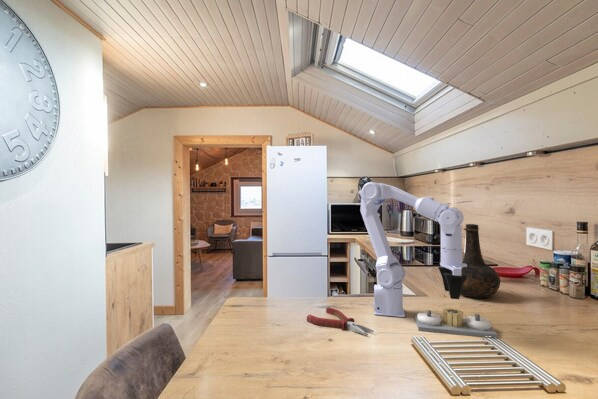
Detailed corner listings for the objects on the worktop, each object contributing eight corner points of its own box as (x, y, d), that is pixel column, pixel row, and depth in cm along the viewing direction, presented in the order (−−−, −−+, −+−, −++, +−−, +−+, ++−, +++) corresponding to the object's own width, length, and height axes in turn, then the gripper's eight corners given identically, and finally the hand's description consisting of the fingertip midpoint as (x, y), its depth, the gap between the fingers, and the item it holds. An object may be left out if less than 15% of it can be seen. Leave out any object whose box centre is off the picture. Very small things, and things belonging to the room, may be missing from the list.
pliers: (358, 344, 79) (358, 334, 79) (304, 322, 94) (304, 314, 94) (381, 331, 87) (381, 322, 87) (328, 313, 102) (328, 305, 102)
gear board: (418, 330, 86) (418, 314, 86) (414, 317, 96) (414, 303, 96) (497, 338, 81) (497, 321, 81) (485, 323, 91) (485, 308, 91)
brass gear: (444, 326, 87) (444, 313, 87) (441, 319, 92) (441, 307, 92) (465, 328, 85) (465, 315, 85) (460, 321, 91) (460, 308, 91)
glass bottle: (496, 291, 124) (495, 223, 124) (504, 305, 108) (503, 226, 108) (448, 286, 131) (447, 222, 132) (448, 298, 115) (448, 225, 116)
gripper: (473, 253, 81) (474, 303, 81) (460, 245, 95) (460, 288, 95) (444, 252, 83) (445, 301, 83) (435, 244, 97) (436, 287, 97)
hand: (451, 294), depth 89 cm, fingers open, 7 cm apart
